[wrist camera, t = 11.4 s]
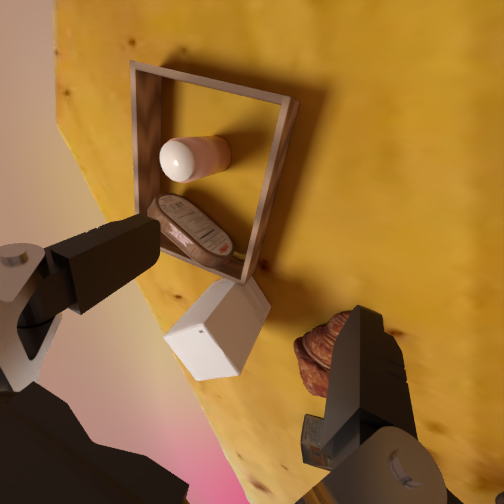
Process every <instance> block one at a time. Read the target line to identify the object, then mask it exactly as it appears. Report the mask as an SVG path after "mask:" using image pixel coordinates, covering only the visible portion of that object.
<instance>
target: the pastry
mask: <svg viewBox="0 0 504 504" xmlns="http://www.w3.org/2000/svg"><path fill="white" fill-rule="evenodd" d="M351 313H352V311H351V312H345V313H339V314H336V315H335V316H333V317H332V318H331V320H330V321H329V322H328V324H327V325H326V326H320V327H316V328H314V329H312V331H311V333H306V334H305V335H304V336H303V337H299V338H297V339H296V340H295V341H294V351H295V354H296V356H297V359H298V364H299V369H300V375H301V378H302V380H303V383H304V385H305V387H306V389H307V390H308V391H309V392H310V393H311V394H312V395H315V396H320V397H324V398H327V391H328V383H329V375H330V367H331V359H332V351H333V347H334V343H335V340H336V338H337V336H338V334H339V332H340V331H341V329H342V328H343V326H344V324H345V323H346V321H347V319H348V318H349V316H350V315H351Z"/></svg>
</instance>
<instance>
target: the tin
mask: <svg viewBox="0 0 504 504" xmlns="http://www.w3.org/2000/svg"><path fill="white" fill-rule="evenodd" d="M147 212H148V216H149V217H152V218H154V219H156V220H158V221H159V222H160V224H161V232H162V233H163V234H164V235H166V236H167V237H168V238H169V239H170V240H171V241H172V242H173V243H175V244H176V245H177V246H178V247H179V248H180V249H181V250H182V251H183V252H185V253H186V254H187V255H188V256H189V257H190V258H191V259H192V260H194V261H195V262H196V263H198V264H200V265H202V266H204V267H206V268H210V269H220V268H223V267H224V266H226V264H227V263H228V261H229V260H230V259H231V257H232V256H233V254H234V244H233V242H232V240H231V238H230V237H229V235H228V234H227V233H226V232H225V231H224V230H223V229H221V228H220V227H219V226H218V225H217V224H216V223H215V222H214V221H212V220H211V219H210V218H209V217H208V216H207V215H206V214H205V213H204V212H202V211H201V210H200V209H199V208H198V207H197V206H196V205H194V204H193V203H192V202H191V201H189V200H188V199H186V198H184V197H182V196H180V195H177V194H174V193H161V194H158V195H156V196H155V198H154V200H153V201H152V203H151V205H150V206H149V208H148V211H147Z"/></svg>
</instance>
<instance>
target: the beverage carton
mask: <svg viewBox="0 0 504 504" xmlns="http://www.w3.org/2000/svg"><path fill="white" fill-rule="evenodd" d="M323 423H324V419H322V418H318V417H314V416H310V415H307V414H305V417H304V422H303V427H302V433H301V451H302V457H303V463H306V464H309V465H311V466H314V467H318V468H322V469H325V470H328V471H331V469H332V457H331V456H329V455H327V454H325V453H323V452H322V451H320V446H321V438H322V431H323Z"/></svg>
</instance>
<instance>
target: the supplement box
mask: <svg viewBox="0 0 504 504" xmlns="http://www.w3.org/2000/svg"><path fill="white" fill-rule="evenodd" d="M270 309H271V305H270V304H269V302H268V301H267V299H266V297H265V296H264V294H263V293H262V291H261V289H260V288H259V286H258V285H257V283H256V282H255V280H254V278H253V277H252V276H251V277H250V279H249V280H248V282H247V283H246V284H245V286H243V285H240V284H238V283H235V282H233V281H231V280H228V279H226V278H222V279H220V280H217V281H215V282H213V283H212V284H211V285H210V286H209V287H208V289H207V290H206V291H205V292H204V293H203V294H202V295H201V296H200V297H199V298H198V299H197V300H196V302H195V303H194V304H193V305H192V306H191V307H190V308H189V309H188V310H187V311H186V313H185V314H184V315H183V316H182V317H181V318H180V319H179V320H178V321H177V322H176V323H175V324H174V325H173V327H172V328H171V329H170V330H169V331H168V332H167V333H166V334H165V335H164V336H163V338H164V339H165V340H166V342H167V343H168V344H169V346H170V347H171V348H172V349H173V351H174V352H175V353H176V355H177V356H178V357H179V359H180V360H181V361H182V362H183V364H184V365H185V366H186V368H187V369H188V370H189V372H190V373H191V374H192V376H193V377H194V378H195V380H196V381H200V380H207V379H214V378H222V377H231V376H237V375H240V374H241V371H242V369H243V367H244V365H245V363H246V360H247V358H248V356H249V354H250V352H251V350H252V347H253V345H254V343H255V341H256V339H257V337H258V335H259V332H260V330H261V328H262V326H263V324H264V322H265V320H266V317H267V315H268V313H269V311H270Z"/></svg>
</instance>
